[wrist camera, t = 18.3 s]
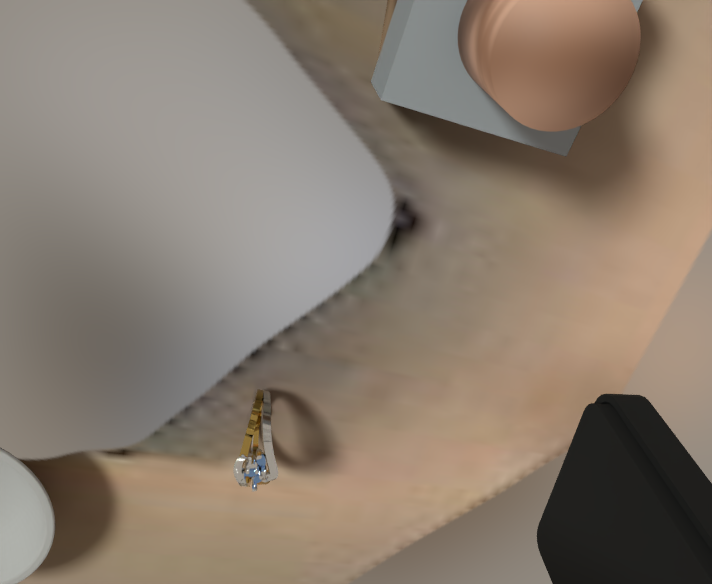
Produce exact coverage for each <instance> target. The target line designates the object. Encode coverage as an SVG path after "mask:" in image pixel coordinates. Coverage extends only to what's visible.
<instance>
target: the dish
mask: <svg viewBox="0 0 712 584" xmlns="http://www.w3.org/2000/svg"><path fill="white" fill-rule="evenodd" d="M54 534H55V516H54V510H53V506H52V503H51V500H50V498H49V495H48V494H47V492H46V490H45V488H44V486H43V485H42V483H41V482H40V480H39V479H38V478H37V477H36V476H35V474H34V473H33V472H32V471H31V470H30V469H29V468H28V467H27V466H26V465H25V464H24V463H22V462H21V461H20V460H19V459H17V458H16V457H14V456H13V455H12V454H10V453H9V452H7V451H5V450H4V449H2V448H0V584H17V583H19V582H21V581H22V580H24V579H25V578H27V577H28V576H29V575H31V574H32V573H33V572H34V571H35V570H36V569H37V568H38V567H39V566H40V565H41V564H42V562H43V561H44V559H45V558H46V556H47V555H48V553H49V551H50V549H51V546H52V543H53V539H54Z"/></svg>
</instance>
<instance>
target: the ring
mask: <svg viewBox="0 0 712 584" xmlns="http://www.w3.org/2000/svg"><path fill="white" fill-rule="evenodd" d="M260 420H261V432H262V443H263V449H264V453H263V452H262V450H261V449H260V448H258V436H259V426H260ZM244 462H245V464H244ZM266 462H267V465H268V470H266ZM234 476H235V478H236V480H237V482H238V483H239V485H240V486H245V487H250V484H251V479H252V491H257V484H258V485H262V484H268V483H269V482H270V481H272V480H275V479H276V478H277V477H278V469H277V464H276V460H275V456H274V451H273V446H272V437H271V400H270V392H269V391H264V390H260V389H258V390H257V393H256V396H255V400H254V401H253V404H252V412H251V418H250V421H249V424H248V428H247V431H246V435H245V438H244V442H243V445H242V449H241V453H240V456H239V458H238V459H237V460H236V462H235V464H234Z"/></svg>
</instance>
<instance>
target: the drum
mask: <svg viewBox="0 0 712 584" xmlns="http://www.w3.org/2000/svg"><path fill="white" fill-rule="evenodd" d="M640 44H641V30H640V22H639V18H638V15H637V12H636V9H635V7H634V5H633V3H632V1H631V0H467V2H466V4H465V6H464V9H463V11H462V14H461V17H460V22H459V27H458V48H459V54H460V57H461V61H462V63H463V65H464V68H465V69H466V71H467V73H468V74H469V75H470V77H471V78H472V79H473V80H474V81H475V82H476V83H477V84H478V85H479V86H480V87H481V88H482V89H483V90H484V91H485V92H486V93H487V94H488V95H489V96H490V97H492V98H493V99H494V100H495V101H496V102H497V103H498V104H499V105H500V106H501V107H502V108H503V109H504V110H505V111H506V112H507V113H508V114H509V115H510V116H512V117H513V118H514V119H515V120H516V121H518V122H519V123H521V124H523V125H525V126H527V127H529V128H532V129H536V130H539V131H547V132H557V131H564V130H569V129H572V128H576V127H578V126H581V125H583V124H586V123H587V122H589V121H591V120H593V119H594V118H596V117H597V116H599V115H600V114H602V113H603V112H604V111H605V110H606V109H608V108H609V107H610V106H611V105H612V104H613V103H614V102H615V101H616V100H617V98H618V97H619V96H620V94H621V93H622V92H623V90H624V89H625V87H626V86H627V84H628V82H629V80H630V78H631V76H632V74H633V72H634V69H635V67H636V64H637V61H638V56H639V52H640Z"/></svg>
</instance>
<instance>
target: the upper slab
mask: <svg viewBox="0 0 712 584" xmlns="http://www.w3.org/2000/svg"><path fill="white" fill-rule="evenodd" d="M631 1H632V3H633V5H634V7H635V9H636V12H637V11H638V9H639V7H640V5H641V3H642V1H643V0H631ZM466 2H467V0H397V3H396V6H395V9H394V12H393V15H392V19H391V22H390V25H389V28H388V31H387V34H386V37H385V40H384V43H383V46H382V49H381V52H380V55H379V59H378V62H377V65H376V68H375V71H374V74H373V77H372V80H371V83H372V85H373V86H374V88H375V90H376V92H377V94H378V96H379V97H380V99H381V100H382V101H386V102H389V103H392V104H396V105H399V106H402V107H405V108H409V109H412V110H415V111H418V112H422V113H425V114H428V115H431V116H435V117H438V118H441V119H445V120H448V121H451V122H454V123H458V124H461V125H464V126H467V127H471V128H474V129H477V130H481V131H484V132H487V133H490V134H494V135H497V136H500V137H503V138H507V139H510V140H513V141H516V142H520V143H523V144H526V145H530V146H533V147H536V148H539V149H543V150H546V151H549V152H552V153H556V154H559V155H562V156H567V154H568V152H569V150H570V148H571V146H572V144H573V142H574V140H575V138H576V136H577V134H578V131H579V129H580V127H581V126H578V127H576V128H572V129H569V130H564V131H557V132H547V131H539V130H536V129H532V128H529V127H527V126H525V125H523V124H521V123H519V122H518V121H516V120H515V119H514V118H513V117H512V116H510V115H509V114H508V113H507V112H506V111H505V110H504V109H503V108H502V107H501V106H500V105H499V104H498V103H497V102H496V101H495V100H494V99H493V98H492V97H490V96H489V95H488V94H487V93H486V92H485V91H484V90H483V89H482V88H481V87H480V86H479V85H478V84H477V83H476V82H475V81H474V80H473V79H472V78H471V77H470V75H469V74H468V73H467V71H466V69H465V68H464V65H463V63H462V61H461V57H460V54H459V48H458V27H459V22H460V17H461V14H462V11H463V9H464V6H465V4H466Z"/></svg>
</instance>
